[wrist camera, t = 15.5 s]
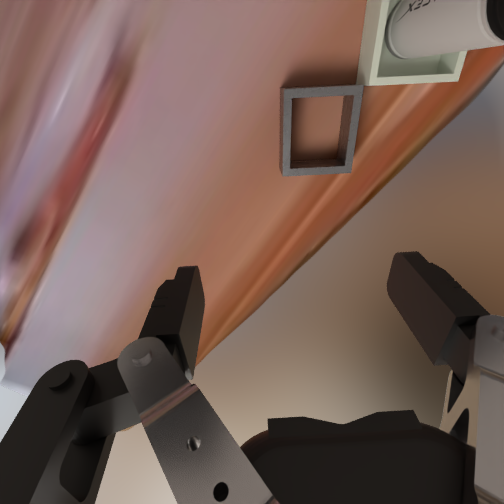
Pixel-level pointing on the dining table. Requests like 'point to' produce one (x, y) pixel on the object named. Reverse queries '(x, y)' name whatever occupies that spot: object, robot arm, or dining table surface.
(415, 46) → the travel mug
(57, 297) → the dining table surface
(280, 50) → the dining table surface
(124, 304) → the dining table surface
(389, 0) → the tray
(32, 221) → the dining table surface
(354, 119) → the sleeve
